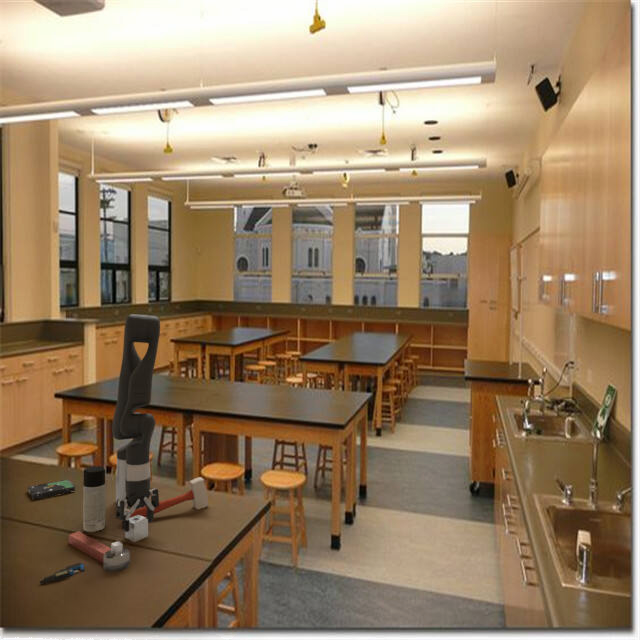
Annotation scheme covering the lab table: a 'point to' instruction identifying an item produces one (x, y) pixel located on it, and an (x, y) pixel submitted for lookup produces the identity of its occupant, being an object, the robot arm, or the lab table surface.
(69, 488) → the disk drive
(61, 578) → the micrometer
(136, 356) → the robot arm
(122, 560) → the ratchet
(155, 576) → the lab table surface
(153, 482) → the lab table surface
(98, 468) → the spray can
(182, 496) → the mallet
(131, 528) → the cube with square hole
